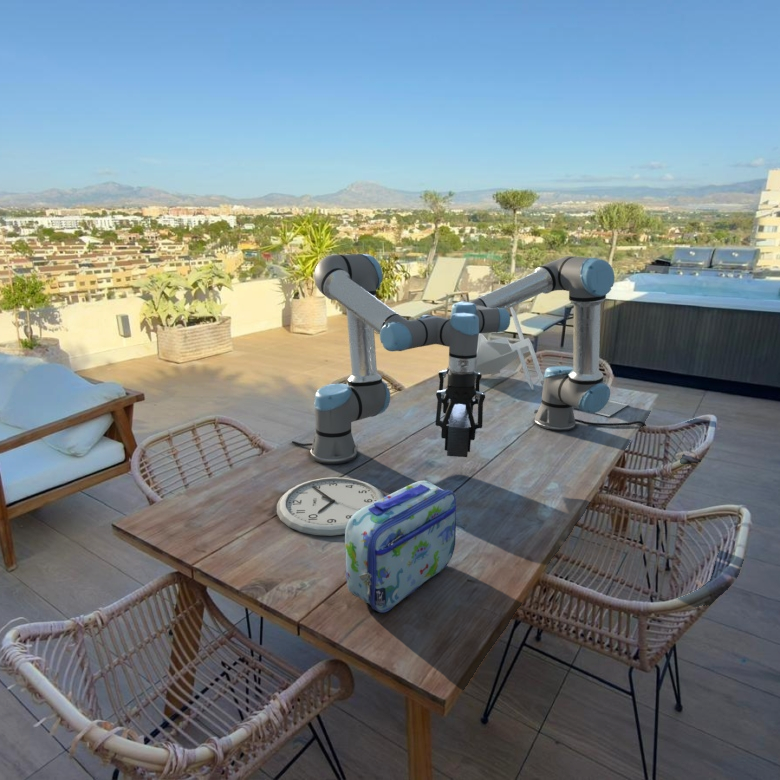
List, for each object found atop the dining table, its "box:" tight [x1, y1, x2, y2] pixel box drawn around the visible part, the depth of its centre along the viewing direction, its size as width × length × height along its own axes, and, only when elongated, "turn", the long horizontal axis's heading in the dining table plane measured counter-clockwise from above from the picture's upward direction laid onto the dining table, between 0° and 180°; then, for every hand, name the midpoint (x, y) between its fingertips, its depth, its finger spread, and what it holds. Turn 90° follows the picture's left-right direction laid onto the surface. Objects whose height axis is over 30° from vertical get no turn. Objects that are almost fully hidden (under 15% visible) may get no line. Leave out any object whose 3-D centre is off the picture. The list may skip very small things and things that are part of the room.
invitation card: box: [573, 399, 629, 418], centre depth 226 cm, size 21×1×15 cm
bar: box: [446, 399, 470, 458], centre depth 158 cm, size 29×6×9 cm, turn 173°
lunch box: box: [344, 480, 457, 614], centre depth 109 cm, size 26×11×21 cm, turn 135°
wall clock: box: [276, 476, 386, 537], centre depth 142 cm, size 30×2×30 cm
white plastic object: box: [475, 306, 544, 391], centre depth 259 cm, size 37×45×31 cm
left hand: (457, 449), depth 149 cm, fingers closed on bar, 6 cm apart
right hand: (457, 423), depth 169 cm, fingers closed on bar, 6 cm apart
